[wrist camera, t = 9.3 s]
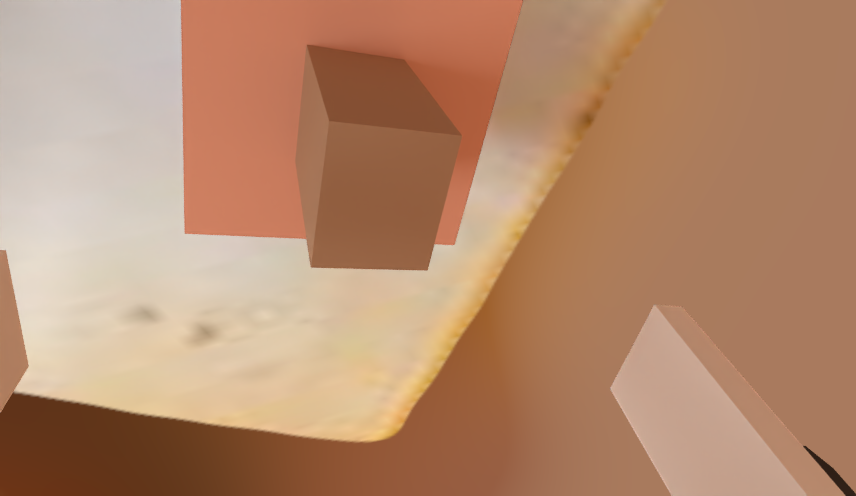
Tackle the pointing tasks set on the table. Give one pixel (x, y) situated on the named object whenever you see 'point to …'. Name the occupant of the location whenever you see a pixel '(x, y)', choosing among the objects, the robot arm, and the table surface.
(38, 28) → the table surface
